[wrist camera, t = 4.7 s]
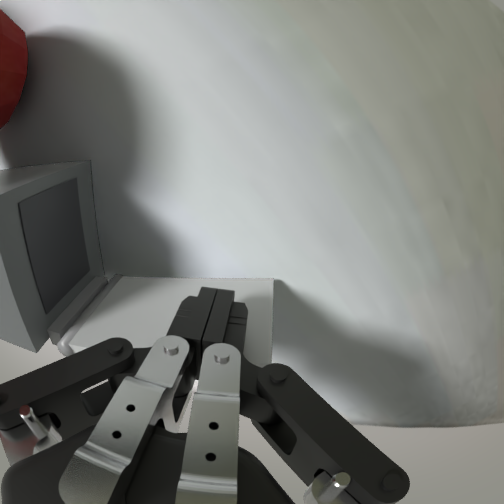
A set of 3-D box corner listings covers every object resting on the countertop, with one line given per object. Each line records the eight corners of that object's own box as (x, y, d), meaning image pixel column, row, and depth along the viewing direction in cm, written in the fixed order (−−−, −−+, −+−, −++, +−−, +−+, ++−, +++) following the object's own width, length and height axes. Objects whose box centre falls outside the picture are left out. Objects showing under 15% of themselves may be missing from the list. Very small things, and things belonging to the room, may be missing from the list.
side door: (273, 293, 19) (270, 383, 12) (115, 289, 19) (62, 358, 13) (273, 276, 18) (271, 363, 12) (111, 274, 19) (54, 341, 12)
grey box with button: (102, 159, 16) (-13, 205, 8) (117, 289, 20) (48, 381, 12) (-9, 171, 17) (-95, 210, 8) (11, 271, 21) (-55, 330, 12)
